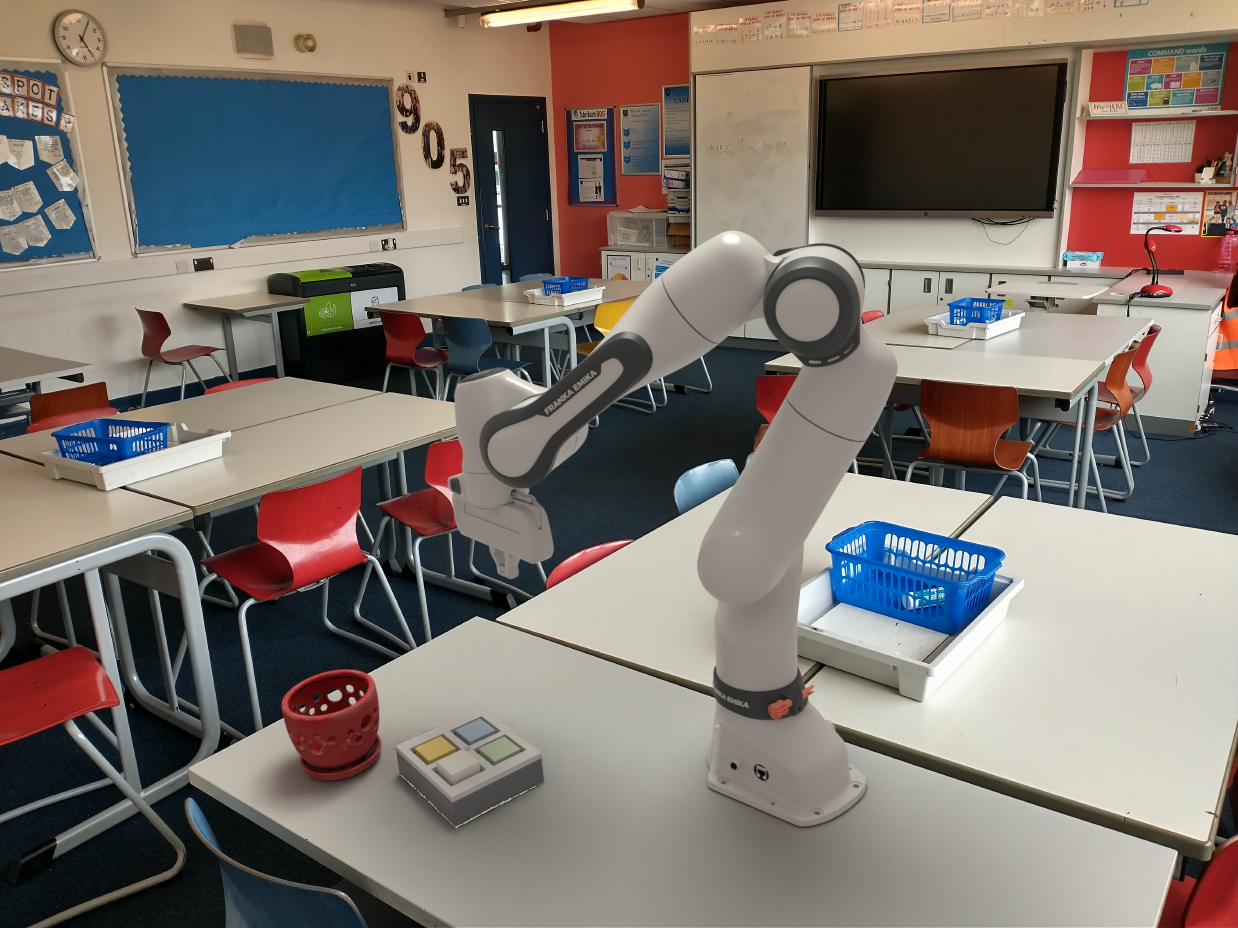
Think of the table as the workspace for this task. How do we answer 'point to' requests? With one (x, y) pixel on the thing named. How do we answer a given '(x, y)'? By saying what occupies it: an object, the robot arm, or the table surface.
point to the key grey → (457, 767)
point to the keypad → (481, 787)
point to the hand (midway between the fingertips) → (508, 575)
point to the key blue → (474, 732)
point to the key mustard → (434, 750)
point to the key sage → (499, 751)
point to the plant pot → (334, 724)
